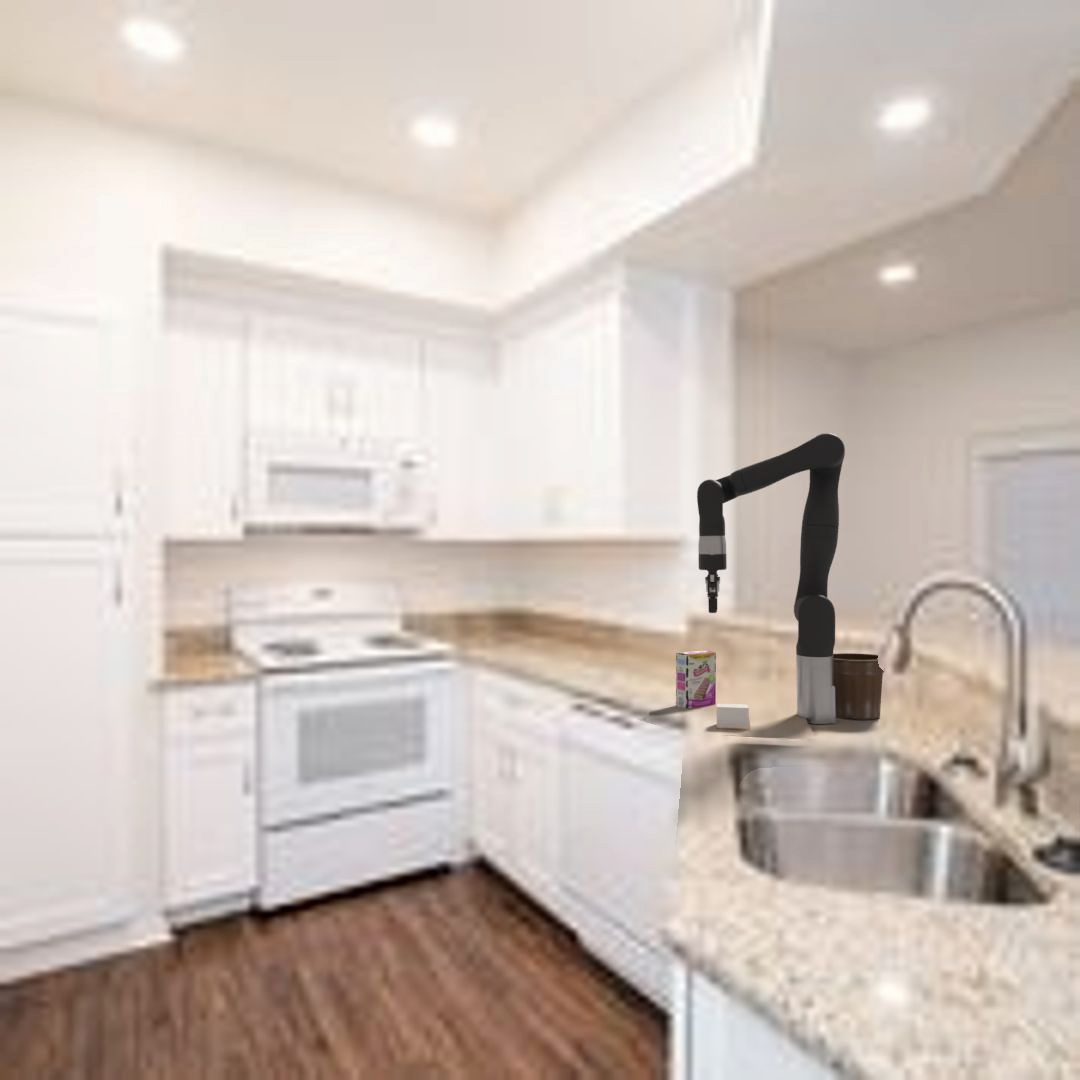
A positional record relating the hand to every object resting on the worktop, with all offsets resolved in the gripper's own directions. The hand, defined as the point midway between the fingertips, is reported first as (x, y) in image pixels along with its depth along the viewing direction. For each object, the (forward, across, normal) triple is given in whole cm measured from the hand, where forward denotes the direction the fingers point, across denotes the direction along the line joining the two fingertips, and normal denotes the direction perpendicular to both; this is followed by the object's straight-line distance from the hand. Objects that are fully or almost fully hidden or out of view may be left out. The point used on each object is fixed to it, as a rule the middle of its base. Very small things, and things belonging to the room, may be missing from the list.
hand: (713, 611), depth 221 cm
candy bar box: (+28, -5, -5) cm, 29 cm away
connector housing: (+27, +22, +5) cm, 35 cm away
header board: (+28, +16, +5) cm, 33 cm away
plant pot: (+28, -5, +37) cm, 47 cm away
